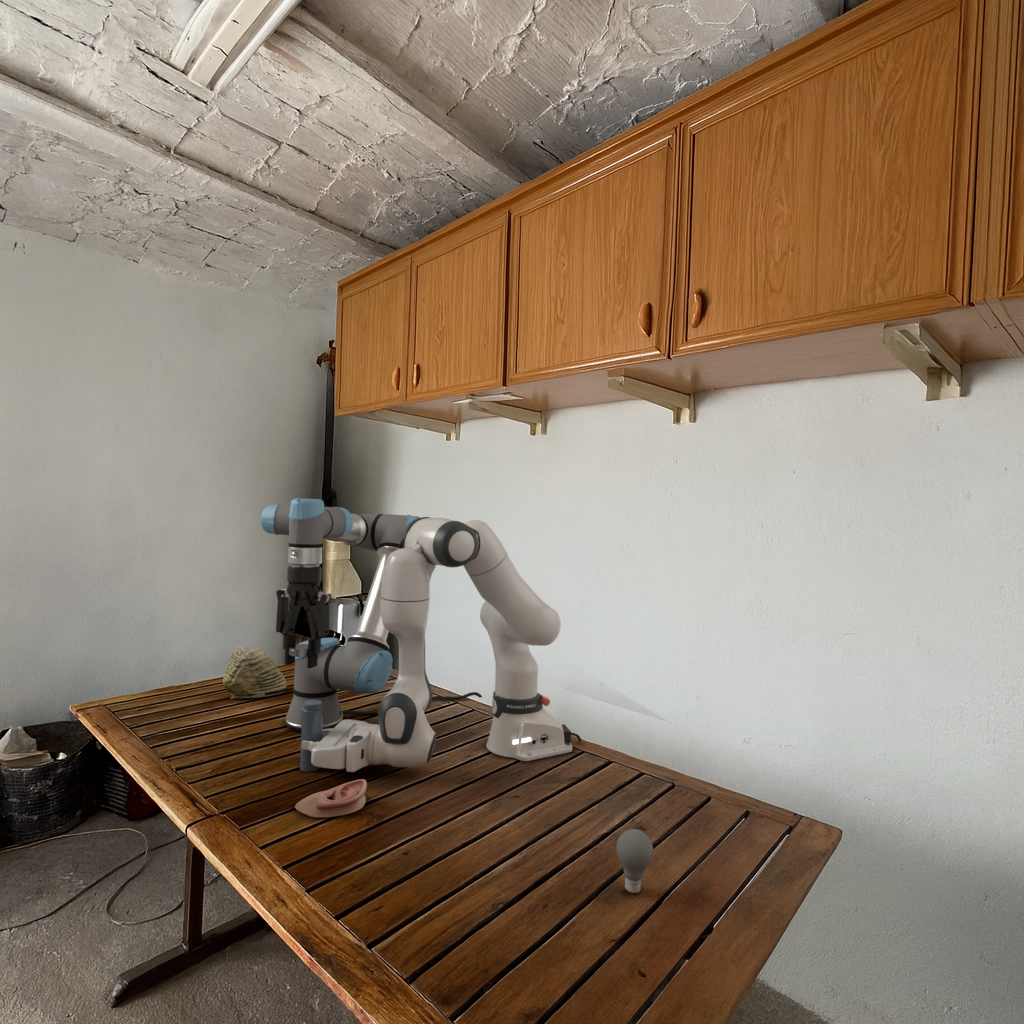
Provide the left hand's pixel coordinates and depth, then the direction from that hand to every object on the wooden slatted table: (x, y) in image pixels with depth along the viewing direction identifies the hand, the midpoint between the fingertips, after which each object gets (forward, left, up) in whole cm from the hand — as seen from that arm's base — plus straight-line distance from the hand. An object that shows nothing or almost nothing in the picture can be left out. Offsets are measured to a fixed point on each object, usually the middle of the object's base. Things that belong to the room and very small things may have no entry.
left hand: (301, 665), depth 147 cm
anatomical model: (+5, +21, -24) cm, 32 cm away
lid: (0, 0, +4) cm, 4 cm away
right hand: (-2, +1, -18) cm, 18 cm away
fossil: (-21, -56, -24) cm, 64 cm away
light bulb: (-12, +81, -24) cm, 85 cm away
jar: (-2, +2, -24) cm, 24 cm away
